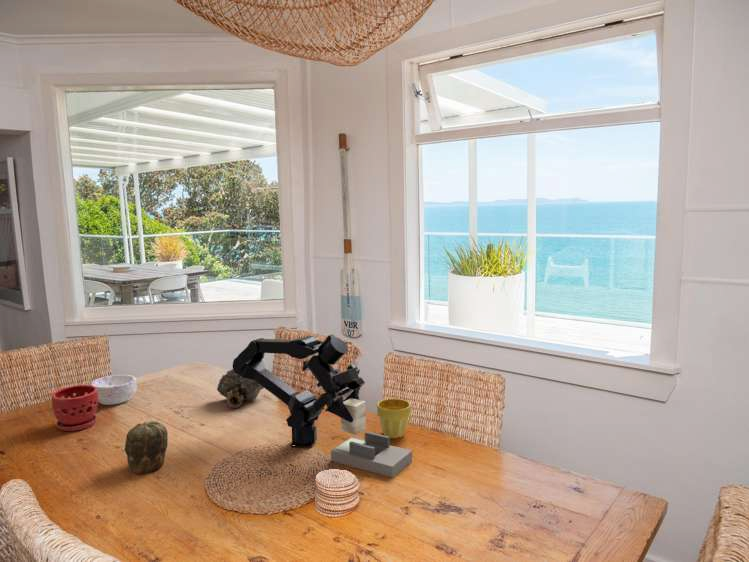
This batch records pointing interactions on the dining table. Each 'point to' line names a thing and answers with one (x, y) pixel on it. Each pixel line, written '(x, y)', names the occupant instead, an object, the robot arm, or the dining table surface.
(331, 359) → the robot arm
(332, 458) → the tunnel deck
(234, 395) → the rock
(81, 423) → the plant pot
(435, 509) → the dining table surface
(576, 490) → the dining table surface
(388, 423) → the plant pot
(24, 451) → the dining table surface
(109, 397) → the white bowl
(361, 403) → the cream block
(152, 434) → the olive lumpy chunk
